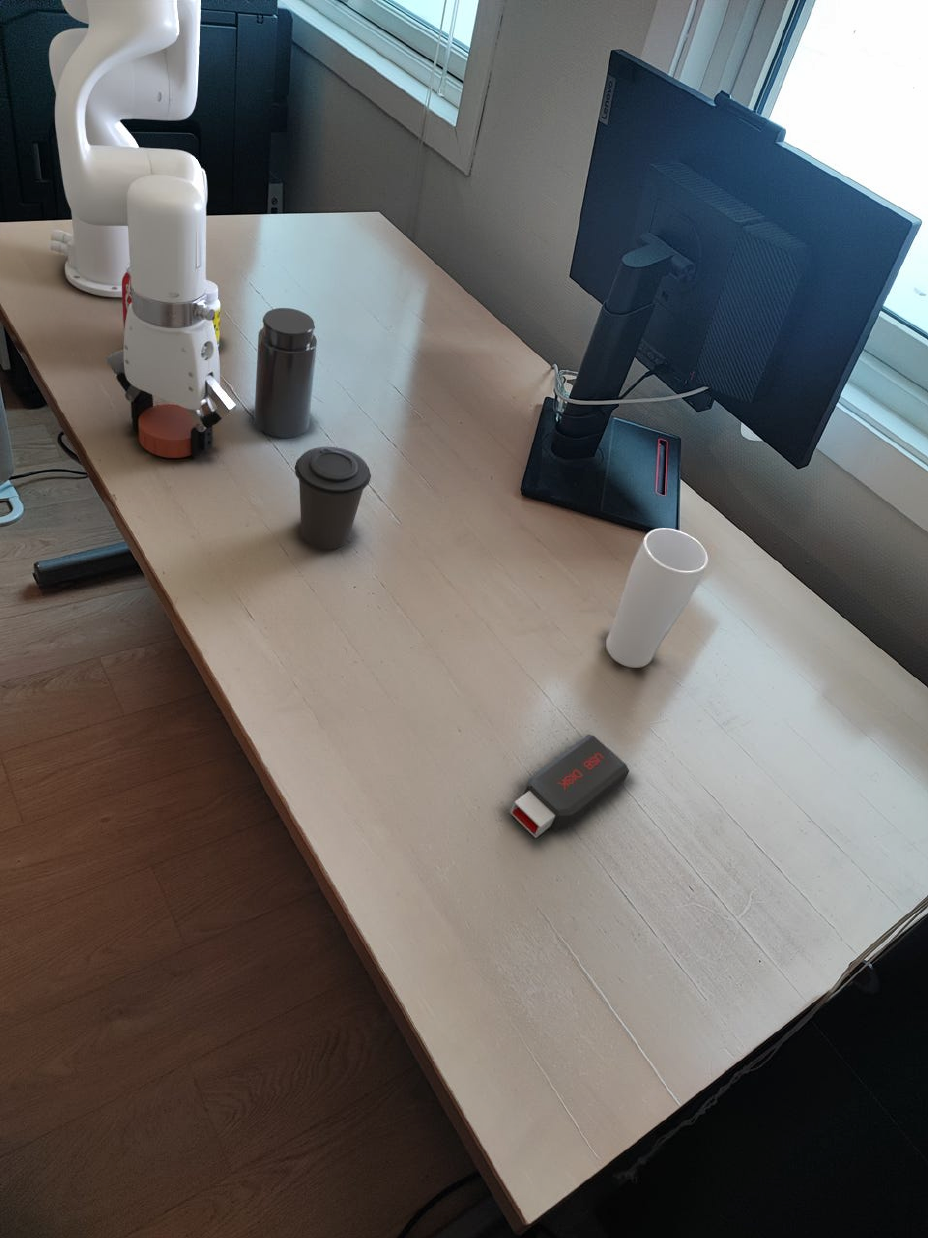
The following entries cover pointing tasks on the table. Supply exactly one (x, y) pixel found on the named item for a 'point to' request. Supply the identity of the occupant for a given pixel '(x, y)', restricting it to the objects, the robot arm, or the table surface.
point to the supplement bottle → (213, 306)
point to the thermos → (285, 373)
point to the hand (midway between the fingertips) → (172, 438)
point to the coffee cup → (329, 494)
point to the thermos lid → (166, 430)
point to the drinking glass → (655, 594)
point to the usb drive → (569, 786)
